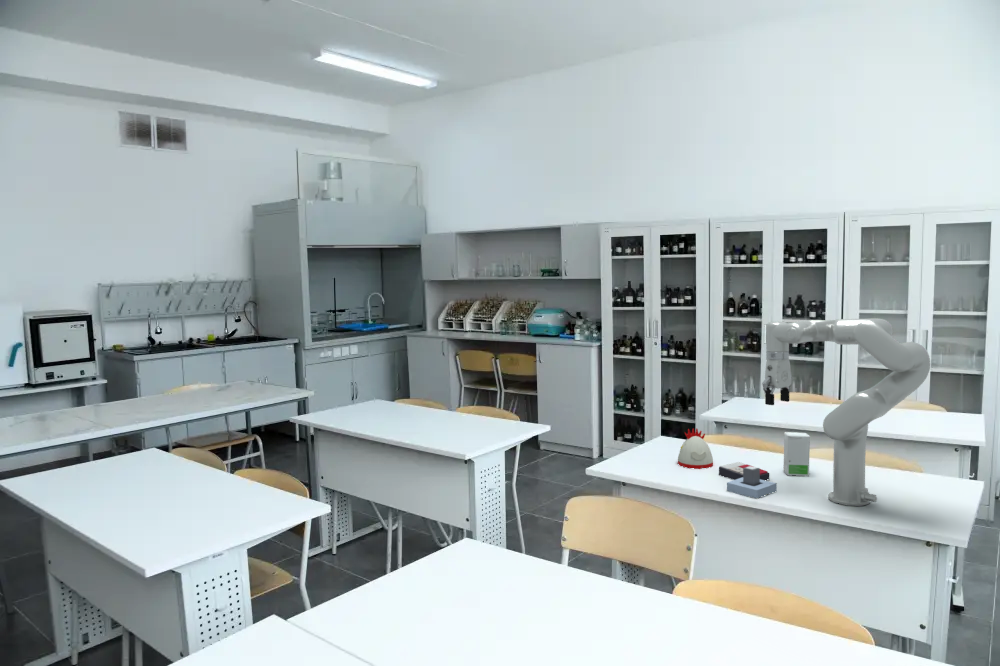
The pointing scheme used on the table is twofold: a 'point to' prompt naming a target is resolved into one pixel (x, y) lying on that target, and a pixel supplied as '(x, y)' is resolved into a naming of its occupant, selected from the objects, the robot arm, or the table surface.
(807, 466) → the skincare box
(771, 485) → the outlet plate
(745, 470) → the block
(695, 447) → the kitchen timer
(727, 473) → the calculator
